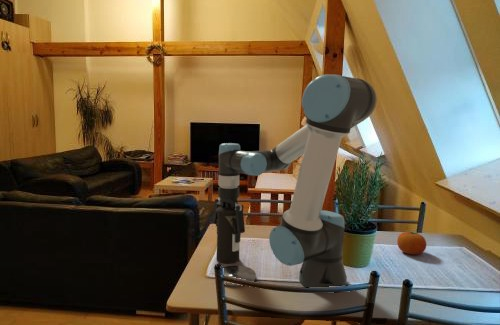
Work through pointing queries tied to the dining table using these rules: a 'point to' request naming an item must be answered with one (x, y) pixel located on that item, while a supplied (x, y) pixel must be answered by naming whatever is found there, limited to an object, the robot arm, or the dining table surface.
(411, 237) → the fruit
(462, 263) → the dining table surface
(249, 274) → the flange plate
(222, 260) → the container
